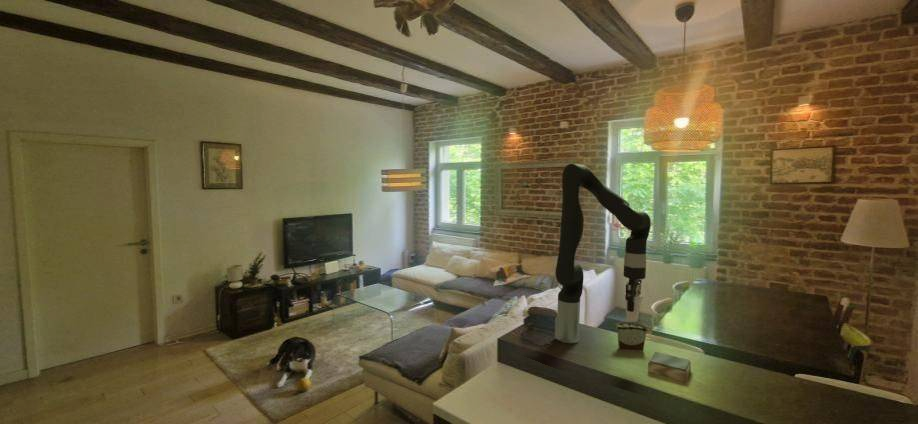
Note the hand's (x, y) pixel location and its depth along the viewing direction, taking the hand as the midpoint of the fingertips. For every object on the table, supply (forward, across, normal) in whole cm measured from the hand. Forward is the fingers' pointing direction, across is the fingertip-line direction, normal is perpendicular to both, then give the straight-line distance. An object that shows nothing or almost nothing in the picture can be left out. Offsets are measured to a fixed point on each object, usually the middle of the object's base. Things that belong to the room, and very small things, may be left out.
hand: (632, 309), depth 146 cm
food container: (+20, -14, -4) cm, 25 cm away
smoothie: (+4, 0, 0) cm, 4 cm away
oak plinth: (+20, 0, +13) cm, 24 cm away
